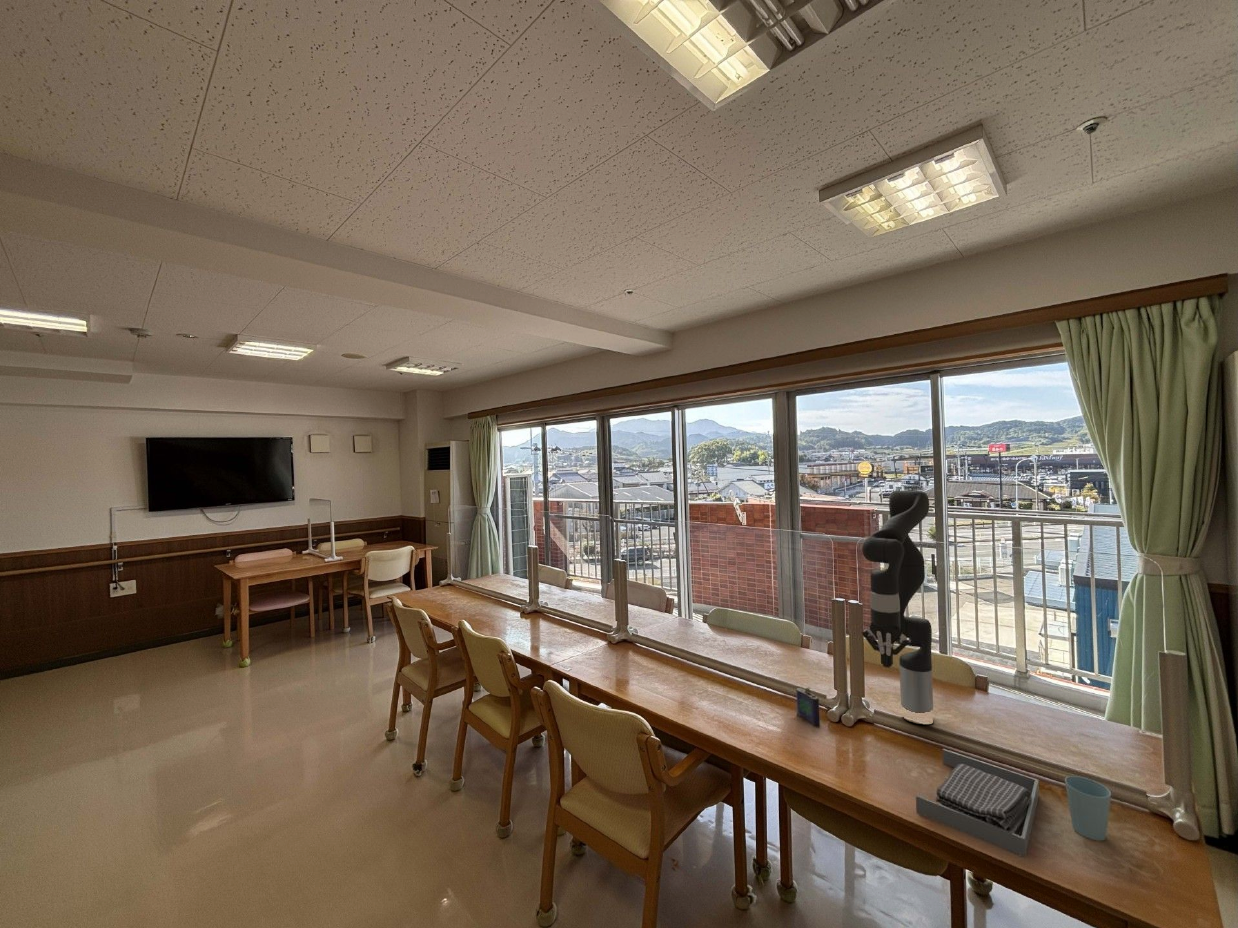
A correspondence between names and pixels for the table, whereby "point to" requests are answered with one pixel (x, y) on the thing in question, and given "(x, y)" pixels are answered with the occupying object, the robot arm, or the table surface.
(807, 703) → the flask
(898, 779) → the table surface
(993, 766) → the tray
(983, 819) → the towel
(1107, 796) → the cup
